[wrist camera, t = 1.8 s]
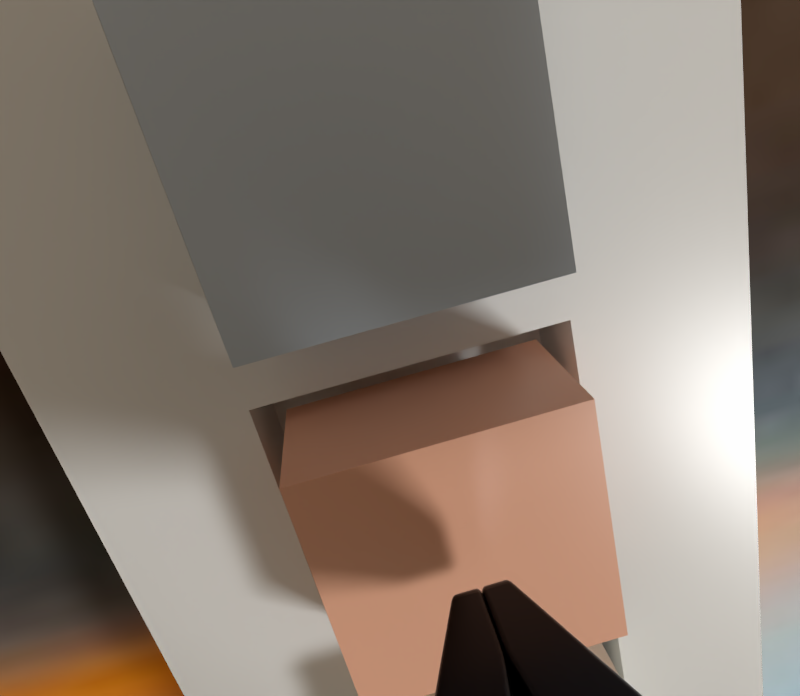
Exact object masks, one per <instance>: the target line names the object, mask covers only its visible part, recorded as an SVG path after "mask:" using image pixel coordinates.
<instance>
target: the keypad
mask: <svg viewBox="0 0 800 696" xmlns="http://www.w3.org/2000/svg"><path fill="white" fill-rule="evenodd" d="M538 4H539V11H540V18H541V25H542V32H543V40H544V47H545V54H546V61H547V68H548V75H549V82H550V89H551V96H552V103H553V110H554V117H555V124H556V131H557V138H558V145H559V152H560V159H561V167H562V174H563V181H564V188H565V195H566V202H567V209H568V216H569V223H570V230H571V237H572V244H573V251H574V258H575V265H576V273H573V274H569V275H566V276H562V277H558V278H555V279H551V280H548V281H544V282H540V283H537V284H533V285H530V286H526V287H523V288H519V289H515V290H512V291H508V292H505V293H501V294H497V295H494V296H490V297H487V298H483V299H479V300H476V301H472V302H469V303H465V304H461V305H458V306H454V307H451V308H447V309H443V310H440V311H436V312H433V313H429V314H426V315H422V316H418V317H415V318H411V319H408V320H404V321H400V322H397V323H393V324H390V325H386V326H382V327H379V328H375V329H372V330H368V331H364V332H361V333H357V334H354V335H350V336H346V337H343V338H339V339H336V340H332V341H329V342H325V343H321V344H318V345H314V346H311V347H307V348H303V349H300V350H296V351H293V352H289V353H285V354H282V355H278V356H275V357H271V358H267V359H264V360H260V361H257V362H253V363H250V364H246V365H242V366H239V367H235V368H233V367H232V364H231V361H230V359H229V356H228V354H227V351H226V348H225V346H224V343H223V341H222V338H221V335H220V333H219V330H218V328H217V325H216V322H215V320H214V317H213V314H212V312H211V309H210V307H209V304H208V301H207V299H206V296H205V294H204V291H203V288H202V286H201V283H200V280H199V278H198V275H197V273H196V270H195V267H194V265H193V262H192V260H191V257H190V254H189V252H188V249H187V246H186V244H185V241H184V239H183V236H182V233H181V231H180V228H179V226H178V223H177V220H176V218H175V215H174V212H173V210H172V207H171V205H170V202H169V199H168V197H167V194H166V192H165V189H164V186H163V184H162V181H161V179H160V176H159V173H158V171H157V168H156V165H155V163H154V160H153V158H152V155H151V152H150V150H149V147H148V145H147V142H146V139H145V137H144V134H143V131H142V129H141V126H140V124H139V121H138V118H137V116H136V113H135V111H134V108H133V105H132V103H131V100H130V97H129V95H128V92H127V90H126V87H125V84H124V82H123V79H122V77H121V74H120V71H119V69H118V66H117V63H116V61H115V58H114V56H113V53H112V50H111V48H110V45H109V43H108V40H107V37H106V35H105V32H104V30H103V27H102V24H101V22H100V19H99V16H98V14H97V11H96V9H95V6H94V3H93V1H92V0H0V351H1V353H2V355H3V357H4V359H5V361H6V363H7V365H8V366H9V368H10V370H11V372H12V374H13V376H14V378H15V380H16V381H17V383H18V385H19V387H20V389H21V391H22V393H23V395H24V396H25V398H26V400H27V402H28V404H29V406H30V408H31V410H32V411H33V413H34V415H35V417H36V419H37V421H38V423H39V425H40V426H41V428H42V430H43V432H44V434H45V436H46V438H47V440H48V441H49V443H50V445H51V447H52V449H53V451H54V453H55V455H56V456H57V458H58V460H59V462H60V464H61V466H62V468H63V470H64V471H65V473H66V475H67V477H68V479H69V481H70V483H71V485H72V486H73V488H74V490H75V492H76V494H77V496H78V498H79V500H80V501H81V503H82V505H83V507H84V509H85V511H86V513H87V515H88V516H89V518H90V520H91V522H92V524H93V526H94V528H95V530H96V531H97V533H98V535H99V537H100V539H101V541H102V543H103V545H104V546H105V548H106V550H107V552H108V554H109V556H110V558H111V560H112V561H113V563H114V565H115V567H116V569H117V571H118V573H119V575H120V576H121V578H122V580H123V582H124V584H125V586H126V588H127V590H128V591H129V593H130V595H131V597H132V599H133V601H134V603H135V605H136V606H137V608H138V610H139V612H140V614H141V616H142V618H143V620H144V621H145V623H146V625H147V627H148V629H149V631H150V633H151V635H152V636H153V638H154V640H155V642H156V644H157V646H158V648H159V650H160V651H161V653H162V655H163V657H164V659H165V661H166V663H167V665H168V666H169V668H170V670H171V672H172V674H173V676H174V678H175V679H176V681H177V683H178V685H179V687H180V689H181V691H182V693H183V694H184V696H358V693H357V691H356V688H355V686H354V683H353V680H352V678H351V675H350V673H349V670H348V667H347V665H346V662H345V660H344V657H343V654H342V652H341V649H340V646H339V644H338V641H337V639H336V636H335V633H334V631H333V628H332V626H331V623H330V620H329V618H328V615H327V612H326V610H325V607H324V605H323V602H322V599H321V597H320V594H319V592H318V589H317V586H316V584H315V581H314V578H313V576H312V573H311V571H310V568H309V565H308V563H307V560H306V558H305V555H304V552H303V550H302V547H301V544H300V542H299V539H298V537H297V534H296V531H295V529H294V526H293V524H292V521H291V518H290V516H289V513H288V510H287V508H286V505H285V503H284V500H283V497H282V495H281V492H280V490H279V486H280V476H281V465H282V454H283V443H284V432H285V421H286V410H287V409H290V408H293V407H297V406H301V405H304V404H308V403H311V402H315V401H318V400H322V399H325V398H329V397H333V396H336V395H340V394H343V393H347V392H350V391H354V390H357V389H361V388H365V387H368V386H372V385H375V384H379V383H382V382H386V381H389V380H393V379H397V378H400V377H404V376H407V375H411V374H414V373H418V372H421V371H425V370H429V369H432V368H436V367H439V366H443V365H446V364H450V363H453V362H457V361H461V360H464V359H468V358H471V357H475V356H478V355H482V354H485V353H489V352H493V351H496V350H500V349H503V348H507V347H510V346H514V345H517V344H521V343H525V342H528V341H532V340H535V339H536V340H537V341H538V342H539V343H540V344H541V345H542V346H543V347H544V348H545V349H546V350H547V351H548V352H549V353H550V354H551V355H552V356H553V357H554V358H555V359H556V360H557V361H558V362H559V363H560V364H561V365H562V366H563V367H564V368H565V369H566V370H567V371H568V373H569V374H570V375H571V376H572V377H573V378H574V379H575V380H576V381H577V382H578V383H579V384H580V385H581V386H582V387H583V388H584V389H585V390H586V391H587V392H588V393H589V394H590V395H591V396H592V397H593V398H594V399H595V406H596V413H597V421H598V428H599V435H600V442H601V449H602V456H603V463H604V470H605V477H606V484H607V491H608V498H609V505H610V512H611V519H612V526H613V533H614V540H615V548H616V555H617V562H618V569H619V576H620V583H621V590H622V597H623V604H624V611H625V618H626V625H627V632H628V635H627V636H623V637H620V638H617V639H613V640H610V641H607V642H603V643H602V645H603V647H604V648H605V650H606V652H607V654H608V656H609V658H610V659H611V661H612V663H613V665H614V667H615V669H616V671H617V672H618V674H619V676H620V677H622V678H623V679H624V680H625V681H626V682H627V683H628V684H630V685H631V686H632V687H633V688H634V689H635V690H636V691H638V692H639V693H640V694H641V695H642V696H763V678H762V647H761V616H760V585H759V554H758V523H757V492H756V461H755V430H754V399H753V367H752V336H751V305H750V274H749V243H748V212H747V181H746V150H745V119H744V88H743V57H742V25H741V0H538Z"/></svg>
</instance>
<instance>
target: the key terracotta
mask: <svg viewBox="0 0 800 696" xmlns="http://www.w3.org/2000/svg"><path fill="white" fill-rule="evenodd" d="M279 490H280V492H281V495H282V497H283V500H284V503H285V505H286V508H287V510H288V513H289V516H290V518H291V521H292V524H293V526H294V529H295V531H296V534H297V537H298V539H299V542H300V544H301V547H302V550H303V552H304V555H305V558H306V560H307V563H308V565H309V568H310V571H311V573H312V576H313V578H314V581H315V584H316V586H317V589H318V592H319V594H320V597H321V599H322V602H323V605H324V607H325V610H326V612H327V615H328V618H329V620H330V623H331V626H332V628H333V631H334V633H335V636H336V639H337V641H338V644H339V646H340V649H341V652H342V654H343V657H344V660H345V662H346V665H347V667H348V670H349V673H350V675H351V678H352V680H353V683H354V686H355V688H356V691H357V693H358V696H425V695H429V694H432V693H435V691H436V685H437V680H438V674H439V668H440V663H441V657H442V651H443V646H444V640H445V634H446V629H447V623H448V617H449V612H450V606H451V601H452V598H453V596H454V595H456V594H459V593H462V592H466V591H469V590H473V589H479V590H480V591H481V592H482V589H483V587H484V586H486V585H490V584H493V583H496V582H500V581H503V580H509V581H511V582H512V583H513V584H515V585H516V586H517V587H518V588H519V589H520V590H521V591H523V592H524V593H525V594H526V595H527V596H528V597H530V598H531V599H532V600H533V601H534V602H535V603H536V604H538V605H539V606H540V607H541V608H542V609H543V610H544V611H546V612H547V613H548V614H549V615H550V616H551V617H553V618H554V619H555V620H556V621H557V622H558V623H559V624H561V625H562V626H563V627H564V628H565V629H566V630H567V631H569V632H570V633H571V634H572V635H573V636H574V637H576V638H577V639H578V640H579V641H580V642H581V643H582V644H584V645H585V646H586V647H590V646H593V645H596V644H600V643H603V642H607V641H610V640H613V639H617V638H620V637H623V636H627V635H628V632H627V625H626V618H625V611H624V604H623V597H622V590H621V583H620V576H619V569H618V562H617V555H616V548H615V540H614V533H613V526H612V519H611V512H610V505H609V498H608V491H607V484H606V477H605V470H604V463H603V456H602V449H601V442H600V435H599V428H598V421H597V413H596V406H595V399H594V398H593V397H592V396H591V395H590V394H589V393H588V392H587V391H586V390H585V389H584V388H583V387H582V386H581V385H580V384H579V383H578V382H577V381H576V380H575V379H574V378H573V377H572V376H571V375H570V374H569V373H568V371H567V370H566V369H565V368H564V367H563V366H562V365H561V364H560V363H559V362H558V361H557V360H556V359H555V358H554V357H553V356H552V355H551V354H550V353H549V352H548V351H547V350H546V349H545V348H544V347H543V346H542V345H541V344H540V343H539V342H538V341H537V340H536V339H535V340H532V341H528V342H525V343H521V344H517V345H514V346H510V347H507V348H503V349H500V350H496V351H493V352H489V353H485V354H482V355H478V356H475V357H471V358H468V359H464V360H461V361H457V362H453V363H450V364H446V365H443V366H439V367H436V368H432V369H429V370H425V371H421V372H418V373H414V374H411V375H407V376H404V377H400V378H397V379H393V380H389V381H386V382H382V383H379V384H375V385H372V386H368V387H365V388H361V389H357V390H354V391H350V392H347V393H343V394H340V395H336V396H333V397H329V398H325V399H322V400H318V401H315V402H311V403H308V404H304V405H301V406H297V407H293V408H290V409H287V410H286V421H285V432H284V443H283V454H282V465H281V476H280V486H279Z"/></svg>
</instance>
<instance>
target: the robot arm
mask: <svg viewBox="0 0 800 696" xmlns="http://www.w3.org/2000/svg"><path fill="white" fill-rule="evenodd" d="M435 696H642V695H641V694H640V693H639V692H638V691H636V690H635V689H634V688H633V687H632V686H631V685H630V684H628V683H627V682H626V681H625V680H624V679H623V678H622V677H620V676H619V675H618V674H617V673H616V672H615V671H613V670H612V669H611V668H610V667H609V666H608V665H607V664H605V663H604V662H603V661H602V660H601V659H600V658H599V657H597V656H596V655H595V654H594V653H593V652H592V651H590V650H589V649H588V648H587V647H586V646H585V645H584V644H582V643H581V642H580V641H579V640H578V639H577V638H576V637H574V636H573V635H572V634H571V633H570V632H569V631H567V630H566V629H565V628H564V627H563V626H562V625H561V624H559V623H558V622H557V621H556V620H555V619H554V618H553V617H551V616H550V615H549V614H548V613H547V612H546V611H544V610H543V609H542V608H541V607H540V606H539V605H538V604H536V603H535V602H534V601H533V600H532V599H531V598H530V597H528V596H527V595H526V594H525V593H524V592H523V591H521V590H520V589H519V588H518V587H517V586H516V585H515V584H513V583H512V582H511V581H509V580H503V581H500V582H496V583H493V584H490V585H486V586H484V587H483V589H482V592H481V591H480V590H479V589H473V590H469V591H466V592H462V593H459V594H456V595H454V596H453V598H452V601H451V606H450V612H449V617H448V623H447V629H446V634H445V640H444V646H443V651H442V657H441V663H440V668H439V674H438V680H437V685H436V691H435Z"/></svg>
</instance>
